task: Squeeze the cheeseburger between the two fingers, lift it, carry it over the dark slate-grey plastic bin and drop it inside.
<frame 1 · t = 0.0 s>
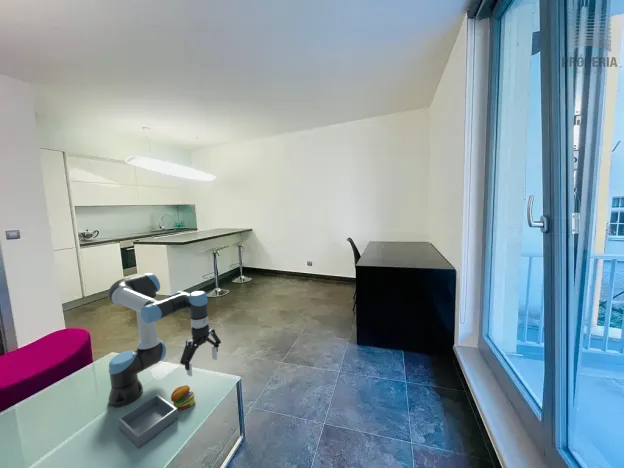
hand: (202, 366, 124), 28 cm above the table, fingers open, 13 cm apart
cheeseburger: (183, 403, 138), on the table
bin: (149, 424, 125), on the table
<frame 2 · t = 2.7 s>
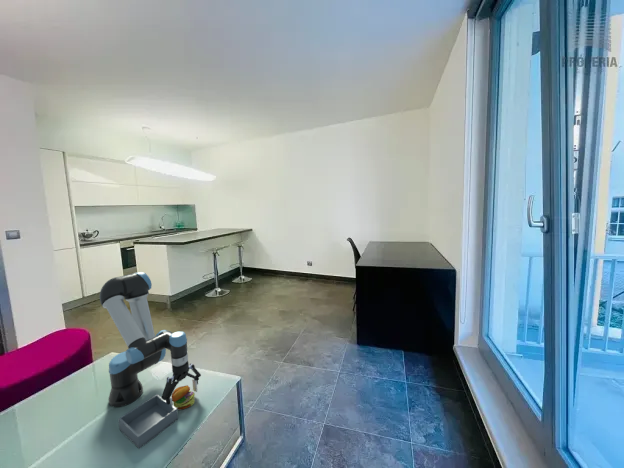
hand: (183, 399, 137), 2 cm above the table, fingers open, 13 cm apart
nothing on the table moved.
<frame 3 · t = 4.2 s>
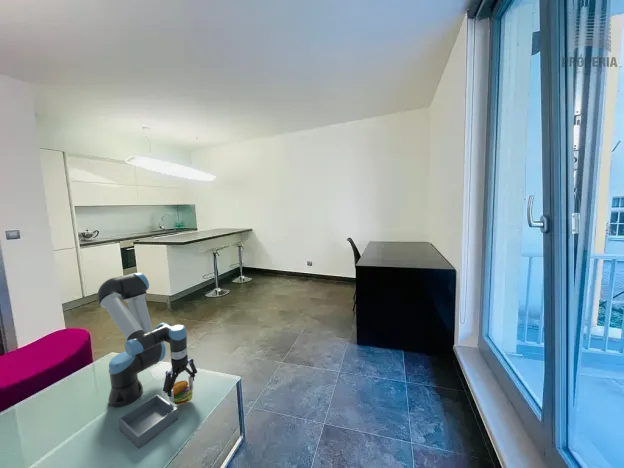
hand: (181, 393, 137), 5 cm above the table, fingers closed on cheeseburger, 10 cm apart
cheeseburger: (181, 398, 137), point 3 cm above the table, touching gripper
when the fingers open (4 cm above the table, at t = 7.9 s): cheeseburger stays where it is, resting on bin.
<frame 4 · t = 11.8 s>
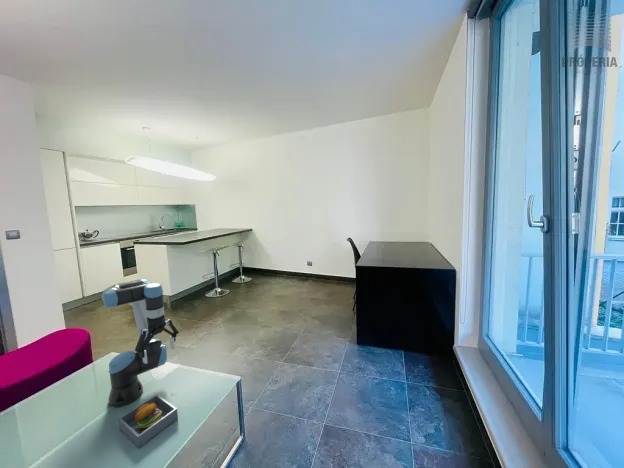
hand: (159, 355, 132), 29 cm above the table, fingers open, 13 cm apart
cheeseburger: (149, 423, 125), point 1 cm above the table, touching bin
at the end: cheeseburger inside the target area on the bin (0.3 cm from its centre), point 0.8 cm above the bin's base; the gripper is holding nothing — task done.
